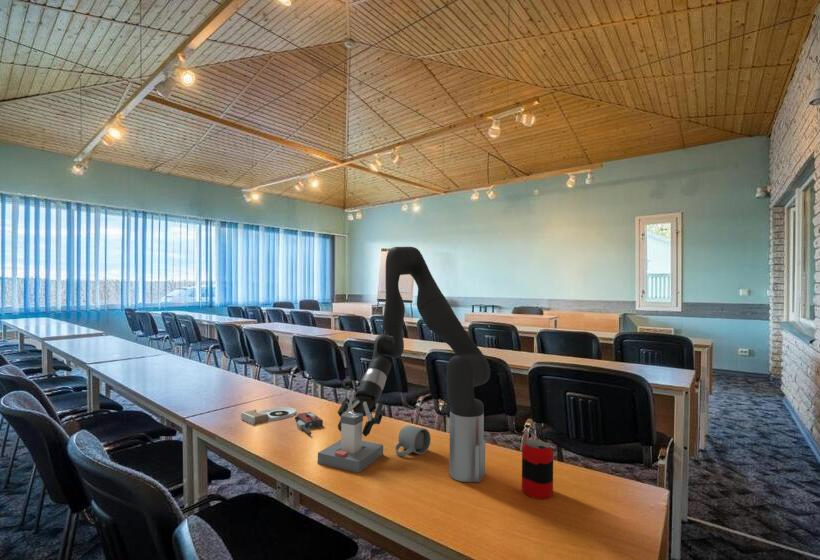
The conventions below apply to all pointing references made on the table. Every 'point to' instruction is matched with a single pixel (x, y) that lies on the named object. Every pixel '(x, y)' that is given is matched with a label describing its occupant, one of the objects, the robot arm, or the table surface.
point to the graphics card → (267, 415)
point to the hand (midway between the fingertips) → (352, 432)
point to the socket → (350, 456)
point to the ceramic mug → (413, 440)
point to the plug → (351, 432)
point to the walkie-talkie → (308, 421)
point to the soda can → (537, 469)
